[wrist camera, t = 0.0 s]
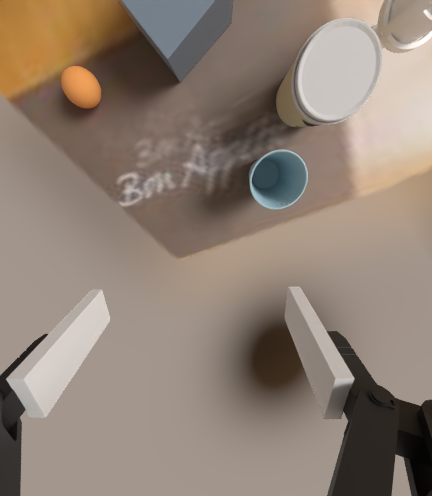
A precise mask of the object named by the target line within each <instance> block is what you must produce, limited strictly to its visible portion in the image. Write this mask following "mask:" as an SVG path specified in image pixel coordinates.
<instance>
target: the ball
mask: <svg viewBox="0 0 432 496" xmlns="http://www.w3.org/2000/svg"><path fill="white" fill-rule="evenodd" d="M61 84H62V88H63V91H64V93H65V94H66V96H67V97H68V99H69V100H70V101H71V102H73V103H74V104H75V105H77V106H79V107H82V108H93V107H95V106H96V105H97V104H98V103H99V102H100V99H101V88H100V85H99V83H98V81H97V79H96V78H95V76H94V75H93V74H92V73H91V72H89V71H88V70H87V69H85V68H83V67H80V66H70V67H68V68H66V69H65V70H64V72H63V74H62V77H61Z"/></svg>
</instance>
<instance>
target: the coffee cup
mask: <svg viewBox="0 0 432 496" xmlns="http://www.w3.org/2000/svg"><path fill="white" fill-rule="evenodd" d="M381 68H382V49H381V44H380V41H379V38H378V36H377V34H376V33H375V31H374V30H373V29H372V28H371V27H370V26H369V25H368V24H367V23H365V22H363V21H361V20H358V19H354V18H340V19H336V20H333V21H330V22H328V23H326V24H325V25H323V26H322V27H320V28H319V29H318V30H316V31H315V32H314V33H313V34H312V35H311V36H310V37H309V38H308V40H307V41H306V42H305V44H304V45H303V46H302V48H301V50H300V52H299V54H298V56H297V58H296V60H295V61H294V63H293V65H292V66H291V68H290V70H289V71H288V73H287V75H286V76H285V78H284V80H283V81H282V83H281V85H280V87H279V90H278V93H277V97H276V108H277V112H278V115H279V117H280V118H281V120H282V121H283V122H284V123H285V124H287V125H289V126H291V127H308V126H317V125H332V124H336V123H340V122H342V121H344V120H346V119H348V118H350V117H351V116H353V115H354V114H355V113H356V112H358V111H359V110H360V109H361V108H362V107H363V105H364V104H365V103H366V102H367V100H368V99H369V97H370V96H371V94H372V92H373V91H374V89H375V87H376V85H377V82H378V80H379V77H380V73H381Z"/></svg>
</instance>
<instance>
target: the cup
mask: <svg viewBox="0 0 432 496" xmlns="http://www.w3.org/2000/svg"><path fill="white" fill-rule="evenodd" d="M307 180H308V173H307V168H306V165H305V163H304V161H303V160H302V158H301V157H300V156H299V155H297V154H296V153H294V152H292V151H289V150H275V151H271V152H269V153H267V154H265V155H264V156H262V157H261V158H259V159H258V160H257V161H255V163H253V164H252V166H251V168H250V171H249V184H250V190H251V193H252V196H253V197H254V199H255V200H256V201H257V202H258V203H259V204H260V205H262V206H263V207H266V208H268V209H282V208H286V207H288V206H290V205H292V204H293V203H295V202H296V201H297V200H298V199H299V198H300V197H301V195H302V194H303V192H304V190H305V188H306V185H307Z"/></svg>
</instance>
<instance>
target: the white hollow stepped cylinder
mask: <svg viewBox="0 0 432 496" xmlns="http://www.w3.org/2000/svg"><path fill="white" fill-rule="evenodd" d="M372 29H373V30H374V31H375V33H376V34H377V36H378V38H379V41H380V44H381V49H383V48H384V47H385V48H386V49H387V50H389V51H391V52H394V53H404V52H408V51H410V50H412V49H414V48H416V47H418V46H420V45H421V44H423V43H424V42H426V41H427V40H428V39H429V38H431V37H432V0H384V2H383V5H382V7H381V10H380V13H379V18H378V24H377V25H375V26H374V27H373V28H372ZM423 35H424V36H423ZM422 36H423V37H422ZM420 37H422V38H421V39H420V40H418V41H417V42H415V43H412V44H409V43H411V42H413V41H415V40H417V39H418V38H420Z"/></svg>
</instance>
